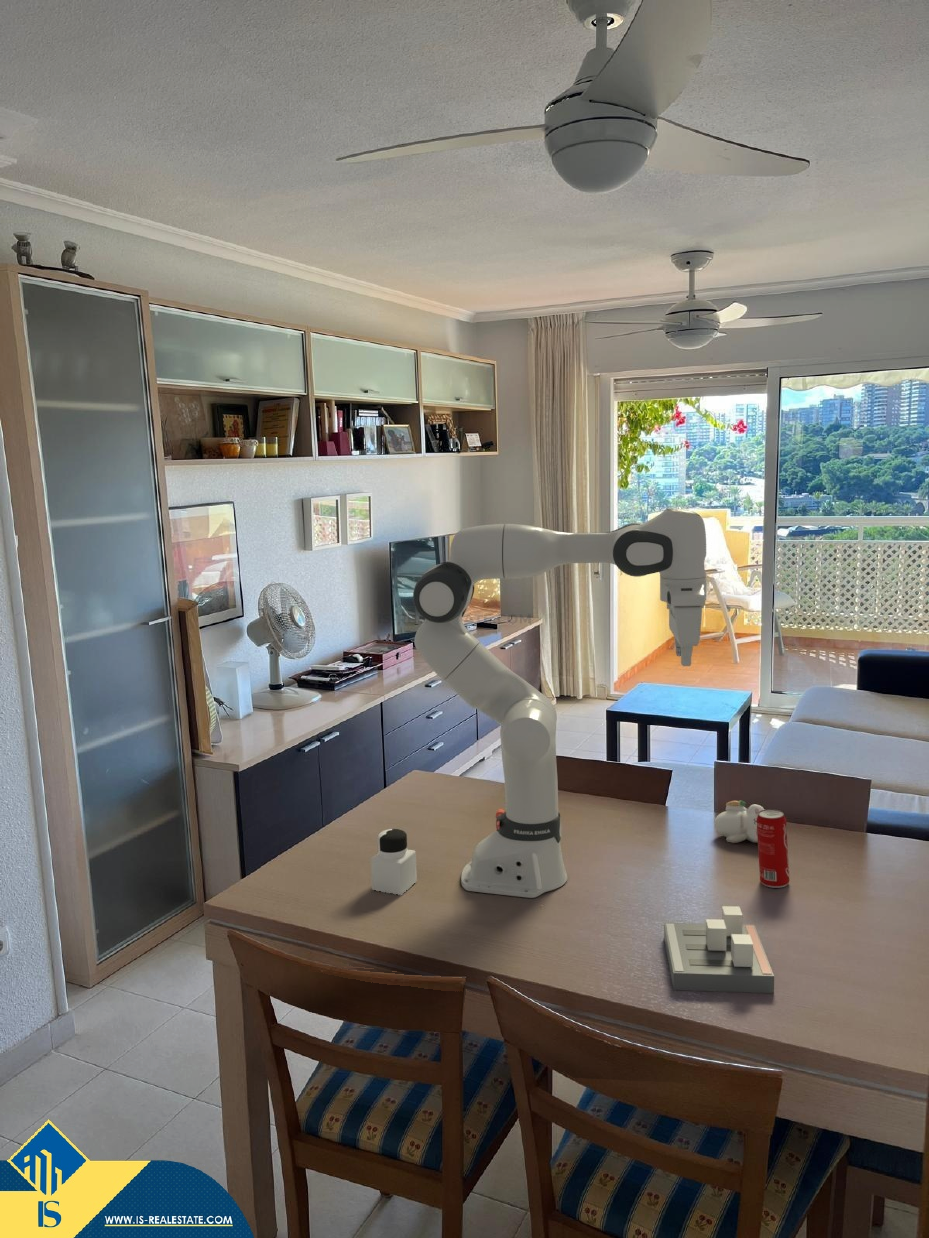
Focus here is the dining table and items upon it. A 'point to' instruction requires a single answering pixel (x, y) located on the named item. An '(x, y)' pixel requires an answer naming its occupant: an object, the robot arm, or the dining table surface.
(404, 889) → the medicine bottle
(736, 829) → the cat figurine
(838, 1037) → the dining table surface
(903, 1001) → the dining table surface
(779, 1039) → the dining table surface
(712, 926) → the beige square block
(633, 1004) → the dining table surface
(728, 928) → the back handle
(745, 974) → the grey slider board
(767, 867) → the beverage can
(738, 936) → the front handle
